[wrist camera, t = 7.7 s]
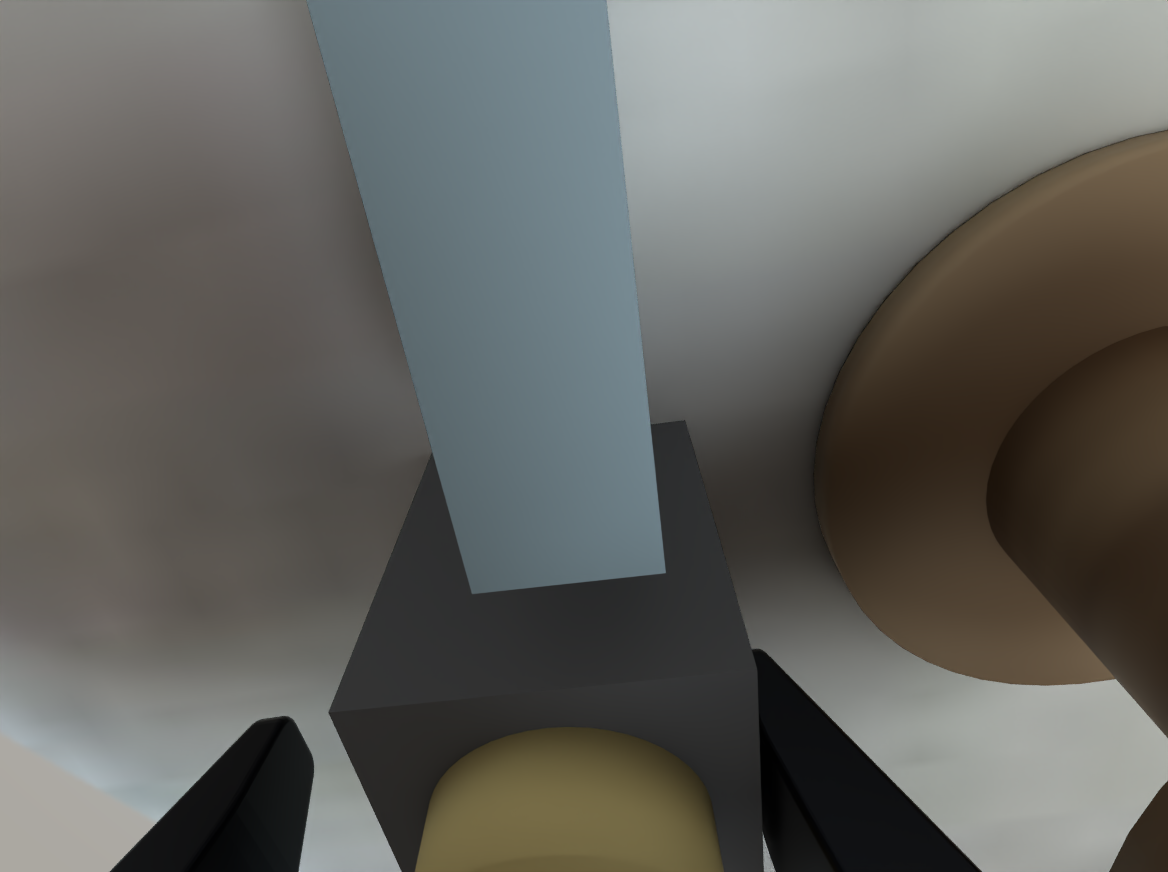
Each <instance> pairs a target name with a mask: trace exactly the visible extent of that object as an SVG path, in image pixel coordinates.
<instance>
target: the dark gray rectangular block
mask: <svg viewBox="0 0 1168 872" xmlns="http://www.w3.org/2000/svg"><path fill="white" fill-rule="evenodd" d="M651 435H652V445H653V454H654V464H655V474H656V483H657V493H658V502H659V512H660V522H661V531H662V541H663V551H664V560H665V570H666V573H662V574H653V575H644V576H635V577H625V578H616V579H607V580H598V581H588V582H579V583H570V584H561V585H551V586H542V587H533V588H524V589H515V590H505V591H496V592H487V593H478V594H472V592H471V589H470V585H469V581H468V578H467V574H466V571H465V567H464V563H463V560H462V556H461V553H460V549H459V546H458V542H457V538H456V535H455V531H454V528H453V524H452V520H451V517H450V513H449V510H448V506H447V503H446V499H445V495H444V492H443V488H442V485H441V481H440V478H439V474H438V470H437V467H436V463H435V460H434V456H433V452H432V454H431V457H430V459H429V462H428V464H427V467H426V469H425V472H424V474H423V477H422V479H421V482H420V484H419V487H418V489H417V492H416V494H415V497H414V499H413V502H412V504H411V507H410V509H409V512H408V514H407V517H406V519H405V522H404V524H403V527H402V529H401V532H400V534H399V537H398V539H397V542H396V544H395V547H394V549H393V552H392V554H391V557H390V559H389V562H388V564H387V567H386V570H385V572H384V575H383V577H382V580H381V582H380V585H379V587H378V590H377V592H376V595H375V597H374V600H373V602H372V605H371V607H370V610H369V612H368V615H367V617H366V620H365V622H364V625H363V627H362V630H361V632H360V635H359V637H358V640H357V642H356V645H355V647H354V650H353V652H352V655H351V657H350V660H349V662H348V665H347V667H346V670H345V672H344V675H343V677H342V680H341V682H340V685H339V687H338V690H337V692H336V695H335V697H334V700H333V702H332V705H331V708H330V710H329V715H330V717H331V719H332V721H333V724H334V726H335V728H336V730H337V732H338V734H339V737H340V739H341V741H342V743H343V745H344V747H345V750H346V752H347V754H348V756H349V758H350V760H351V763H352V765H353V767H354V769H355V771H356V773H357V776H358V778H359V780H360V782H361V784H362V786H363V789H364V791H365V793H366V795H367V797H368V799H369V802H370V804H371V806H372V808H373V810H374V812H375V815H376V817H377V819H378V821H379V823H380V825H381V828H382V830H383V832H384V834H385V836H386V838H387V841H388V843H389V845H390V847H391V849H392V851H393V854H394V856H395V858H396V860H397V862H398V864H399V867H400V869H401V871H402V872H764V865H763V834H762V802H761V771H760V740H759V709H758V678H757V667H756V663H755V660H754V656H753V653H752V649H751V646H750V643H749V639H748V636H747V632H746V629H745V625H744V622H743V618H742V615H741V612H740V608H739V605H738V601H737V598H736V594H735V591H734V587H733V584H732V581H731V577H730V574H729V570H728V567H727V563H726V560H725V556H724V553H723V550H722V546H721V543H720V539H719V536H718V532H717V529H716V525H715V522H714V518H713V515H712V512H711V508H710V505H709V501H708V498H707V494H706V491H705V487H704V484H703V481H702V477H701V474H700V470H699V467H698V463H697V460H696V456H695V453H694V450H693V446H692V443H691V439H690V436H689V432H688V429H687V425H686V422H685V420H684V421H676V422H668V423H660V424H653V425H651Z"/></svg>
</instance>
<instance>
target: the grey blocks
mask: <svg viewBox="0 0 1168 872" xmlns="http://www.w3.org/2000/svg"><path fill="white" fill-rule="evenodd" d="M306 1H307V5H308V8H309V12H310V15H311V19H312V23H313V26H314V30H315V33H316V37H317V41H318V44H319V48H320V51H321V55H322V58H323V62H324V66H325V69H326V73H327V76H328V80H329V84H330V87H331V91H332V94H333V98H334V101H335V105H336V109H337V112H338V116H339V119H340V123H341V127H342V130H343V134H344V137H345V141H346V144H347V148H348V152H349V155H350V159H351V162H352V166H353V169H354V173H355V177H356V180H357V184H358V187H359V191H360V195H361V198H362V202H363V205H364V209H365V212H366V216H367V220H368V223H369V227H370V230H371V234H372V238H373V241H374V245H375V248H376V252H377V255H378V259H379V263H380V266H381V270H382V273H383V277H384V281H385V284H386V288H387V291H388V295H389V298H390V302H391V306H392V309H393V313H394V316H395V320H396V323H397V327H398V331H399V334H400V338H401V341H402V345H403V349H404V352H405V356H406V359H407V363H408V366H409V370H410V374H411V377H412V381H413V384H414V388H415V392H416V395H417V399H418V402H419V406H420V409H421V413H422V417H423V420H424V424H425V427H426V431H427V435H428V438H429V442H430V445H431V449H432V452H433V456H434V460H435V463H436V467H437V470H438V474H439V478H440V481H441V485H442V488H443V492H444V495H445V499H446V503H447V506H448V510H449V513H450V517H451V520H452V524H453V528H454V531H455V535H456V538H457V542H458V546H459V549H460V553H461V556H462V560H463V563H464V567H465V571H466V574H467V578H468V581H469V585H470V589H471V592H472V594H478V593H487V592H496V591H505V590H515V589H524V588H533V587H542V586H551V585H561V584H570V583H579V582H588V581H598V580H607V579H616V578H625V577H635V576H644V575H653V574H662V573H666V570H665V560H664V551H663V541H662V531H661V522H660V512H659V502H658V493H657V483H656V474H655V464H654V454H653V445H652V435H651V425H650V416H649V406H648V396H647V387H646V377H645V368H644V358H643V348H642V339H641V329H640V319H639V310H638V300H637V291H636V281H635V271H634V262H633V252H632V242H631V233H630V223H629V213H628V204H627V194H626V185H625V175H624V165H623V156H622V146H621V136H620V127H619V117H618V108H617V98H616V88H615V79H614V69H613V59H612V50H611V40H610V30H609V21H608V11H607V2H606V0H306Z"/></svg>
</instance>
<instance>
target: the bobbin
mask: <svg viewBox="0 0 1168 872" xmlns="http://www.w3.org/2000/svg"><path fill="white" fill-rule="evenodd" d="M814 491H815V505H816V510H817V514H818V519H819V523H820V528H821V532H822V534H823V537H824V539H825V542H826V544H827V546H828V549H829V551H830V554H831V556H832V558H833V560H834V562H835V564H836V566H837V568H838V570H839V572H840V574H841V576H842V578H843V580H844V582H845V584H846V586H847V587H848V589H849V591H850V592H851V594H852V595H853V597H854V599H855V600H856V602H857V603H858V605H859V606H860V608H861V609H862V611H863V612H864V613H865V614H866V615H867V616H868V618H869V619H870V620H871V621H872V622H873V623H874V624H875V625H876V626H877V627H878V628H879V630H880V631H882V632H883V633H884V634H885V635H887V636H888V637H889V638H890V639H892V640H893V641H894V642H896V643H897V644H898V645H899V646H901V647H902V648H904V649H905V650H907V651H909V652H911V653H912V654H914V655H916V656H918V657H920V658H921V659H923V660H925V661H927V662H929V663H932V664H934V665H937V666H939V667H942V668H944V669H947V670H949V671H952V672H955V673H959V674H963V675H966V676H970V677H974V678H978V679H982V680H988V681H995V682H1002V683H1009V684H1022V685H1066V684H1082V683H1090V682H1097V681H1104V680H1111V679H1117V681H1118V682H1119V683H1120V684H1121V685H1122V686H1123V687H1124V688H1125V690H1126V691H1127V692H1128V693H1129V694H1130V695H1131V696H1132V698H1133V699H1134V700H1135V701H1136V702H1137V703H1138V704H1139V706H1140V707H1141V708H1142V709H1143V710H1144V711H1145V712H1146V714H1147V715H1148V716H1149V717H1150V718H1151V719H1152V720H1153V722H1154V723H1155V724H1156V725H1157V726H1158V727H1159V728H1160V730H1161V731H1162V732H1163V733H1164V734H1165V735H1166V736H1167V738H1168V130H1167V131H1162V132H1158V133H1153V134H1148V135H1143V136H1138V137H1134V138H1131V139H1128V140H1125V141H1122V142H1119V143H1116V144H1113V145H1110V146H1107V147H1104V148H1101V149H1098V150H1095V151H1092V152H1089V153H1086V154H1084V155H1082V156H1080V157H1077V158H1075V159H1073V160H1071V161H1069V162H1067V163H1064V164H1062V165H1060V166H1058V167H1056V168H1054V169H1051V170H1049V171H1047V172H1045V173H1043V174H1040V175H1038V176H1037V177H1035V178H1033V179H1031V180H1030V181H1028V182H1026V183H1025V184H1023V185H1021V186H1020V187H1018V188H1016V189H1015V190H1013V191H1011V192H1010V193H1008V194H1006V195H1005V196H1003V197H1001V198H999V199H998V200H996V201H994V202H993V203H991V204H990V205H989V206H987V207H986V208H985V209H983V210H982V211H981V212H979V213H978V214H977V215H975V216H974V217H973V218H971V219H970V220H968V221H967V222H966V223H964V224H963V225H962V226H960V227H959V228H958V229H956V230H955V231H954V232H952V233H951V234H950V235H949V236H948V237H947V238H946V239H945V240H943V241H942V242H941V243H940V244H939V245H938V246H937V247H936V248H935V249H934V250H933V251H931V252H930V253H929V254H928V255H927V256H926V257H925V258H924V259H923V260H922V261H920V262H919V263H918V264H917V265H916V266H915V267H914V268H913V269H912V271H911V272H910V273H909V274H908V275H907V276H906V277H905V278H904V280H903V281H902V282H901V283H900V284H899V285H898V286H897V287H896V289H895V290H894V291H893V292H892V293H891V294H890V295H889V296H888V298H887V299H886V300H885V301H884V302H883V304H882V305H881V307H880V308H879V309H878V311H877V312H876V314H875V315H874V316H873V318H872V319H871V321H870V322H869V323H868V325H867V326H866V328H865V329H864V331H863V332H862V333H861V335H860V336H859V338H858V340H857V341H856V343H855V345H854V347H853V349H852V351H851V352H850V354H849V356H848V358H847V360H846V361H845V363H844V365H843V367H842V369H841V371H840V372H839V375H838V377H837V380H836V382H835V385H834V387H833V390H832V392H831V395H830V397H829V400H828V402H827V405H826V407H825V411H824V415H823V419H822V423H821V427H820V431H819V435H818V439H817V445H816V455H815V465H814ZM1109 872H1168V781H1167V782H1166V783H1165V784H1164V785H1163V786H1162V788H1161V789H1160V790H1159V791H1158V793H1157V794H1156V796H1155V797H1154V798H1153V800H1152V801H1151V803H1150V804H1149V805H1148V807H1147V808H1146V810H1145V811H1144V812H1143V814H1142V815H1141V817H1140V818H1139V819H1138V821H1137V822H1136V823H1135V825H1134V826H1133V828H1132V829H1131V830H1130V832H1129V834H1128V835H1127V837H1126V839H1125V841H1124V843H1123V845H1122V847H1121V849H1120V851H1119V853H1118V855H1117V857H1116V859H1115V861H1114V863H1113V865H1112V867H1111V869H1110V871H1109Z"/></svg>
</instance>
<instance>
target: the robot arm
mask: <svg viewBox="0 0 1168 872" xmlns="http://www.w3.org/2000/svg"><path fill="white" fill-rule="evenodd" d="M752 653H753V656H754V660H755V663H756V667H757V678H758V709H759V740H760V771H761V802H762V831H763V835H764V838H765V841H766V845H767V848H768V851H769V854H770V857H771V860H772V863H773V865H774V868H775V871H776V872H982V871H981V870H980V869H979V868H978V867H977V866H976V865H975V864H974V863H973V862H972V861H971V860H970V859H969V858H968V857H967V856H966V855H965V854H964V853H963V852H962V851H961V850H960V849H959V848H958V847H957V846H956V845H955V844H954V843H953V842H952V841H951V840H950V839H949V838H948V837H947V836H946V835H945V834H944V833H943V832H942V831H941V830H940V829H939V828H938V827H937V826H936V824H935V823H934V822H933V821H932V820H931V819H930V818H929V817H928V816H927V815H926V814H925V813H924V812H923V811H922V810H921V809H920V808H919V807H918V806H917V805H916V804H915V803H914V802H913V801H912V800H911V799H910V798H909V797H908V796H907V795H906V794H905V793H904V792H903V791H902V790H901V789H900V788H899V787H898V786H897V785H896V784H895V783H894V782H893V781H892V780H891V779H890V778H889V777H888V776H887V775H886V774H885V773H884V772H883V771H882V770H881V769H880V768H879V767H878V766H877V765H876V764H875V763H874V762H873V761H872V760H871V759H870V758H869V757H868V756H867V755H866V754H865V753H864V752H863V751H862V750H861V748H860V747H859V746H858V745H857V744H856V743H855V742H854V741H853V740H852V739H851V738H850V737H849V736H848V735H847V734H846V733H845V732H844V731H843V730H842V729H841V728H840V727H839V726H838V725H837V724H836V723H835V722H834V721H833V720H832V719H831V718H830V717H829V716H828V715H827V714H826V713H825V712H824V711H823V710H822V709H821V708H820V707H819V706H818V705H817V704H816V703H815V702H814V701H813V700H812V699H811V698H810V697H809V696H808V695H807V694H806V693H805V692H804V691H803V690H802V689H801V688H800V687H799V686H798V685H797V684H796V683H795V682H794V681H793V680H792V679H791V678H790V677H789V676H788V675H787V674H786V672H785V671H784V670H783V669H782V668H781V667H780V666H779V665H778V664H777V663H776V662H775V661H774V660H773V659H772V658H771V657H770V656H769V655H768V654H767V653H766V652H764V651H763V650H761V649H752ZM313 777H314V761H313V757H312V754H311V752H310V750H309V748H308V746H307V744H306V742H305V740H304V738H303V736H302V735H301V733H300V731H299V729H298V727H297V725H296V723H295V722H294V720H293V719H292V718H290V717H289V716H280V717H273V718H266V719H261V720H258V721H256V722H255V723H254V724H252V725H251V726H250V727H249V728H248V729H247V730H246V731H245V732H244V733H243V734H242V735H241V737H240V738H239V739H238V740H237V741H236V742H235V743H234V744H233V745H232V746H231V747H230V748H229V749H228V750H227V751H226V752H225V753H224V754H223V755H222V756H221V757H220V758H219V759H218V760H217V761H216V762H215V763H214V764H213V765H212V766H211V767H210V769H209V770H208V771H207V772H206V773H205V774H204V775H203V776H202V777H201V778H200V779H199V780H198V781H197V782H196V783H195V784H194V785H193V786H192V787H191V788H190V789H189V790H188V791H187V792H186V793H185V794H184V795H183V796H182V797H181V798H180V799H179V801H178V802H177V803H176V804H175V805H174V806H173V807H172V808H171V809H170V810H169V811H168V812H167V813H166V814H165V815H164V816H163V817H162V818H161V819H160V820H159V821H158V822H157V823H156V824H155V825H154V826H153V827H152V829H150V831H148V833H147V834H146V835H145V836H144V837H143V838H142V839H141V840H140V841H139V842H138V843H137V844H136V845H135V846H134V847H133V848H132V849H131V850H130V851H129V852H128V853H127V854H126V855H125V856H124V857H123V858H122V859H121V860H120V861H119V863H117V865H116V866H115V867H114V868H113V869H112V870H111V871H110V872H299V865H300V859H301V853H302V846H303V840H304V834H305V828H306V821H307V815H308V809H309V802H310V796H311V790H312V783H313Z"/></svg>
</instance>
